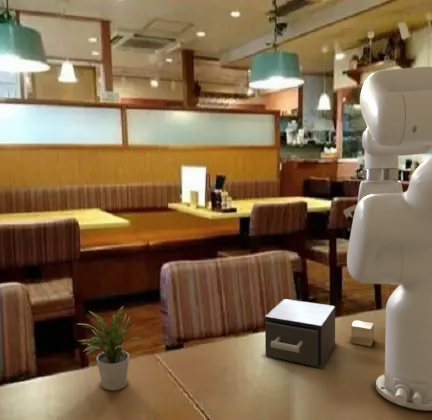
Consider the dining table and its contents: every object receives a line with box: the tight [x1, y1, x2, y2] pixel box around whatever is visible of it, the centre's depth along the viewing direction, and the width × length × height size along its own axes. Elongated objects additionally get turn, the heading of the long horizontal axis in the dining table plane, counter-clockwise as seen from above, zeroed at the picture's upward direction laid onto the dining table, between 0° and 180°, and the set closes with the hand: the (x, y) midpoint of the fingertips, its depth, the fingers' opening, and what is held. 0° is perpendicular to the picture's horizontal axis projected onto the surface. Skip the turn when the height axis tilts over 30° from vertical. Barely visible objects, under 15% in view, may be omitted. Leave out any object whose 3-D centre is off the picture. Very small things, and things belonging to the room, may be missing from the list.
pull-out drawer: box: [264, 321, 318, 367], centre depth 104 cm, size 18×12×8 cm, turn 146°
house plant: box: [76, 305, 142, 391], centre depth 96 cm, size 14×14×16 cm
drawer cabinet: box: [264, 298, 336, 369], centre depth 108 cm, size 15×13×10 cm
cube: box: [350, 319, 375, 347], centre depth 112 cm, size 4×4×4 cm
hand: (379, 243), depth 112 cm, fingers open, 9 cm apart
